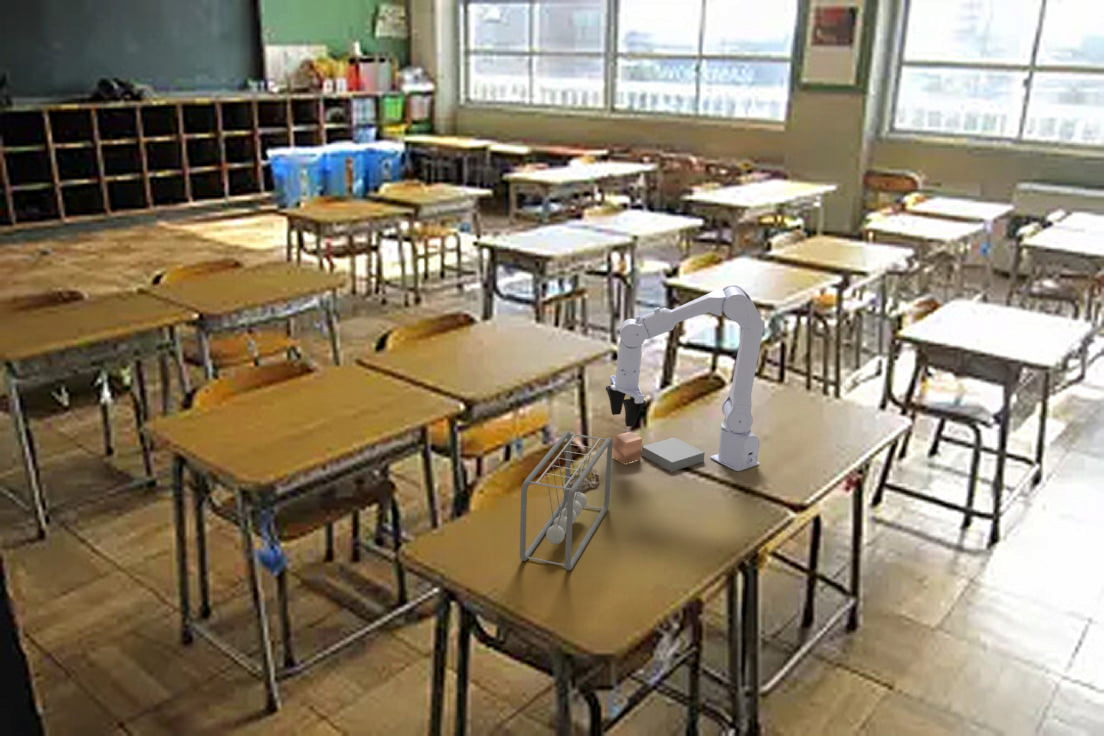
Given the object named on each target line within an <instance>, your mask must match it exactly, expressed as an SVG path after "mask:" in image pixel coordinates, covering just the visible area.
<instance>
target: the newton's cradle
mask: <svg viewBox="0 0 1104 736" xmlns="http://www.w3.org/2000/svg"><path fill="white" fill-rule="evenodd" d="M575 437H580V438H585V439H592V440H596V442H595V444H594V445H593V446H592V447H591V446H588V449H589V448H590V450H589V451H588V453H587V454H586V453H583V455H585V457H584V458H583V460H582V461H578V460H575V462H578V463H580V464H579V465H578V467H577V468H574V460H573V453H574V454H575V452H573V451H572V446H574V444H573V443H572V441H573V440H574V438H575ZM601 441H603V443H602V444H601V446H600V447H599V449H598V450H597V451H596V452H595V454H594V455H593V457H592V458H590V457H591V455H592V452H593V451H594V450H595V448H596V447H597V445H598V443H600V442H601ZM564 442H565V445H564V447H563V448H562V449H561V450H560V451H559V453H558V454H557V455H556V457H555V458H554V459H553V460H552V462H551V463H550V464H549V466H547V468H546V469H545V470H544V471H543V473H542V474H541V475H540V477H539V478H538V479H537V481H533V480H534V479H535V478H536V476H537V475H538V474H539V473H540V471H541V470H542V469H543V468H544V467H545V465H546V464H547V463H548V462H549V460H550V459H551V458H552V457H553V456H554V455H555V453H556V452H557V451H558V450H559V448H560V447H561V446H562V444H563V443H564ZM576 446H579V447H580V445H579V444H576ZM583 447H584V448H587V446H586V445H582V448H583ZM605 450H606V463H605V464H606V466H605V485H604V501H603V506H602V507H598V506H594V505H593V506H592V505H588V504H587V503H588V499H587V496H586V495H585V494H584V493H583V492H581V491H580V492H578V490H577V489H579V486H580V485H581V484H582V486H583V483H582V482H584V479H585V478H586V476H587V475H588V474H589V472H590V471H591V469H592V468H593V469H594V467H595V465H596V463H597V462H598V460H599V459H600V458H601V456H602V455H603V454H604V452H605ZM562 453H563V454H564V462H565V467H564V466H561V463H560V459H561V460H562V458H561V457H560V456H561V455H562ZM577 454H579V455H581V453H579V452H577ZM612 455H613V438H612V437H610V436H609V437H606V438H603V437H602V438H601V437H595V436H589V435H585V434H584V435H583V434H577V433H572V432H571V431H570V430H566V431H565V432H564V433H563V434H562V435H561V436H560V438H558V440H557V441H556V442H555V443H554V445H552V447H551V448H550V449H549V451H547V453H546V454H545V455H544V456H543V458H542V459H541V460H540V462H539V463H538V464H537V465H536V466H535V467H534V469H532V471H531V472H530V473H529V475H528V476H526V478H525V479H524V481H523V482H522V487H521V489H520V520H519V521H520V527H519V528H520V529H519V559H520V561H522V562H526V561H528V560H533V561H535V562H541V563H547V564H552V565H556V566H560V567H561V566H562V567H564V568H565V570H567V571H571V570H572V569H573V568H574V566H575V565H576V563H577V561H578V560H579V558H580V556H581V555H582V553H583V551H584V550H585V547H586V546H587V545H588V544H589V541H590V540H591V538H592V536H593V534H594V533H595V531H596V530H597V528H598V526H599V525H600V523H601V521H602V519H603V518H604V516H605V514H606V512H607V511H608V509H609V507H610V506H609V505H610V498H611V481H612V467H613V466H612V463H613V462H612V461H613V458H612ZM587 459H588V461H587ZM590 459H591V460H590ZM557 460H558V465H555V467H557V468H559V471H560V472H559V473H560V474H555V470H554V464H555V462H556V461H557ZM586 461H587V463H586ZM571 464H572V470H573V473H574V474H573V475H572V476H571V477H570V474H571ZM586 464H587V465H586ZM582 465H583V468H582V469H584V468H585V469H584V471H583V470H582V474H581V475H580V476H579V478H578V476H577V480H576V479H575V483H574V485H573V482H572V485H573V486H571V488H570V481H571V480H572V478H573V477H575V474H576V473H577V471H578V470H579V471H580V470H581V467H582ZM551 467H552V472H553V473H550V475H551V476H553V479H554V485H553V484H549V480H548V479H549V477H548V475H549V473H547V472H548V471H549V470H550V469H551ZM562 468H563V469H565V470H564V472H565V473H564V475H562V470H561V469H562ZM578 475H579V472H578ZM544 476H546V482H547V483H543V482H542V483H541V482H540V481H541V480H542V478H543V477H544ZM555 476H557V477H561V484H562V485H561V486H560V485H559V486H558V485H557V482H556V477H555ZM563 477H564V482H563ZM573 481H574V478H573ZM530 484H531V485H537V486H543V487H548V488H547V489H548V495H549V500H550V501H549V502H550V506H551V507H550V508H551V516H550V517H549V519H548V520H547V522H546V523H545V524H544V525H543V527H542V528H541V530H540V532H539V533H538V534H537V536H536V537H535V539H534V540H533V541H532V543H531V544H530V545H529V547H528V548H527V549H526V547H527V546H526V540H527V503H528V502H527V501H528V500H527V499H528V489H529V485H530ZM550 488H554V489H555V490H556V497H557V503H558V506H557V507H556V509H555V510H553V505H552V498H551V492H550ZM557 489H560V490H562V491H563V498H562V500H561V502H560V501H559V495H558V490H557ZM581 490H582V487H581ZM576 491H577V492H576ZM584 508H590V509H594V510H599V511H600V512H599V513H598V515H597V517H596V518H595V519H594V521H593V523H592V525H591V526H590V528H589V529H588V531H587V532H586V534H585V536H584V538H583V539H582V541H581V542H580V544H579V546H578V547H577V549H576V551H575V552H574V554H573V556H572V544H573V543H572V542H573V541H572V540H573V539H572V538H573V537H572V536H573V525H574V524H575V523H576V521H577V518H578V517H579V516H581V513H582V510H583V509H584ZM553 511H554V512H553ZM545 535H546V539H547V541H548V542H549V544H553V545H559V544H561V543H562V542H563V540H564V539H565V550H564V557H565V558H564V563H560V562H556V561H552V560H546V559H541V558H537V557H531V555H532V553H533V552H534V550H536V548H537V546H538V545H539V543H540V542H541V541H542V539H543V538H544V536H545Z"/></svg>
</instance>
